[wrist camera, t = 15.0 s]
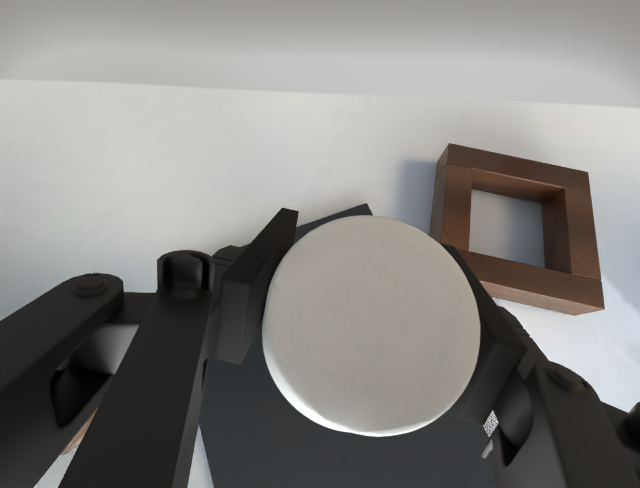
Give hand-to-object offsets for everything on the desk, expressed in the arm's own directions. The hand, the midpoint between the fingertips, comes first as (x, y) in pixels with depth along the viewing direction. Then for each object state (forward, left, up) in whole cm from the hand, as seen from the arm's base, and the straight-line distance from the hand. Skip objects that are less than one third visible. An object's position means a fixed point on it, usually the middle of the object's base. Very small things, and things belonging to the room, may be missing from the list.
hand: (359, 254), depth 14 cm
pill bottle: (-3, +2, -6) cm, 7 cm away
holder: (0, -14, -9) cm, 17 cm away
